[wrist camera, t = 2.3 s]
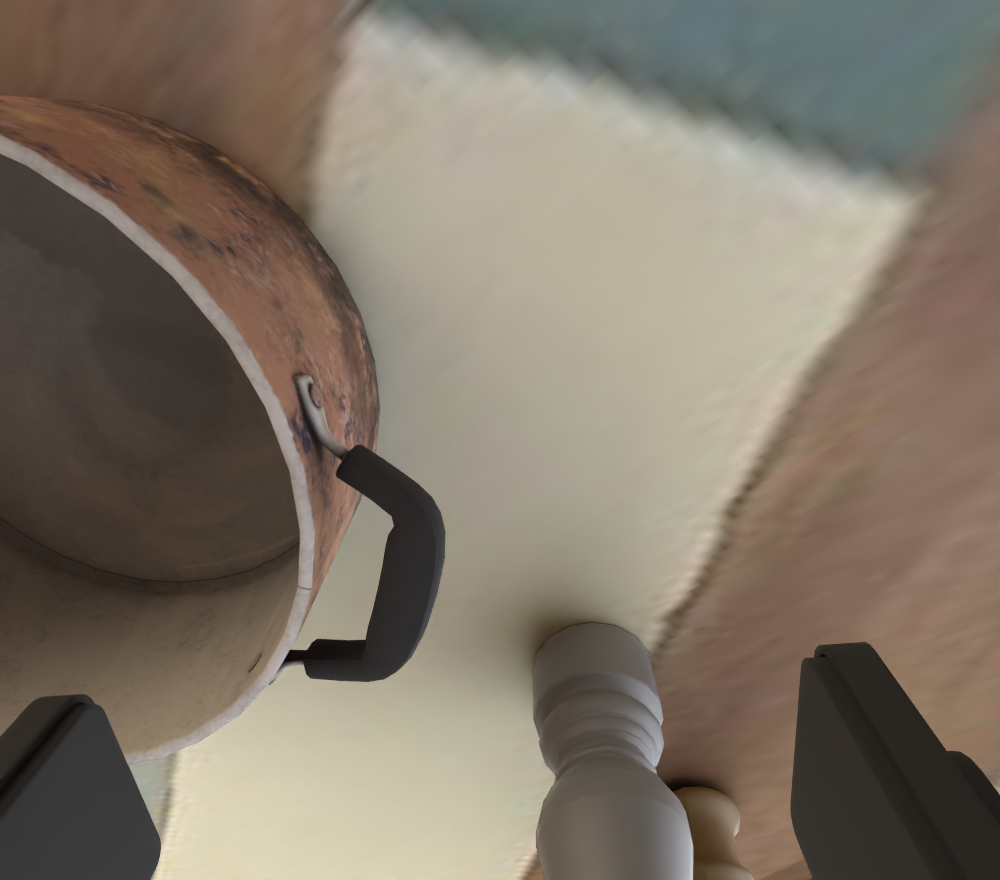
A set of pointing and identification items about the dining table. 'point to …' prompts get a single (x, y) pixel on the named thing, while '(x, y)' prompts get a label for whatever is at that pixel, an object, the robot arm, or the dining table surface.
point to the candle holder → (604, 762)
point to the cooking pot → (179, 434)
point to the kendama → (713, 834)
